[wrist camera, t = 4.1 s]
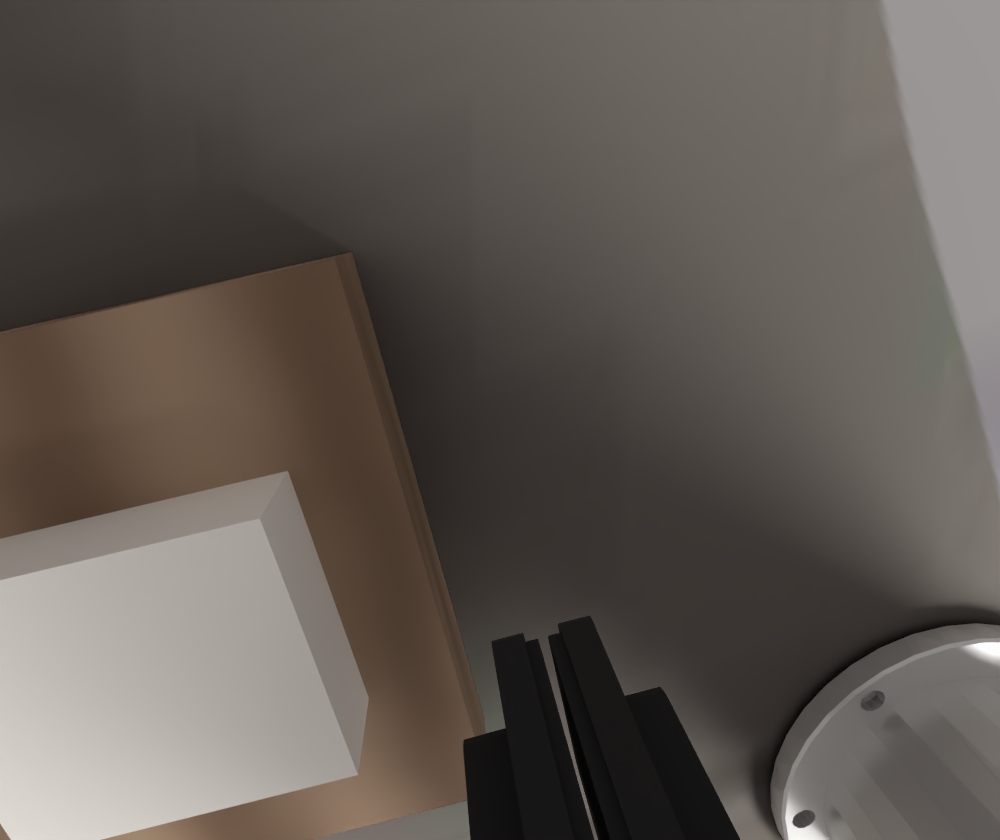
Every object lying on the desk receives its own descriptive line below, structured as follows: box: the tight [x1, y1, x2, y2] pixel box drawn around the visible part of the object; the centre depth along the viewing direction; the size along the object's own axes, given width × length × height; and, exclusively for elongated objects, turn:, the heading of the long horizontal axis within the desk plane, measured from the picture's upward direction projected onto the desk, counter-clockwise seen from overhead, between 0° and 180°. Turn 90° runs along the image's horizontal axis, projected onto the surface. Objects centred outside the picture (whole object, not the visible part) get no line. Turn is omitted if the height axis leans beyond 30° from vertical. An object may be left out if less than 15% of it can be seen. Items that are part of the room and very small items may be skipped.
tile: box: [0, 471, 369, 840], centre depth 15 cm, size 8×7×2 cm
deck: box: [0, 252, 485, 840], centre depth 17 cm, size 14×16×3 cm
